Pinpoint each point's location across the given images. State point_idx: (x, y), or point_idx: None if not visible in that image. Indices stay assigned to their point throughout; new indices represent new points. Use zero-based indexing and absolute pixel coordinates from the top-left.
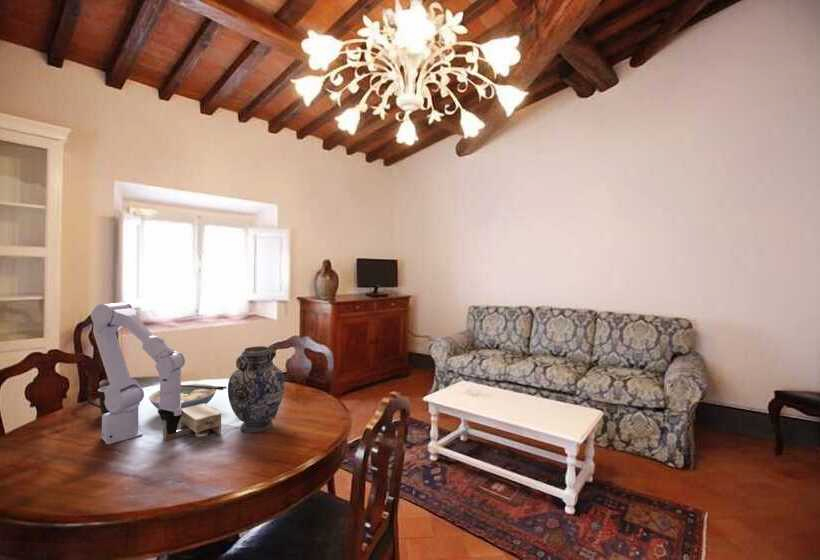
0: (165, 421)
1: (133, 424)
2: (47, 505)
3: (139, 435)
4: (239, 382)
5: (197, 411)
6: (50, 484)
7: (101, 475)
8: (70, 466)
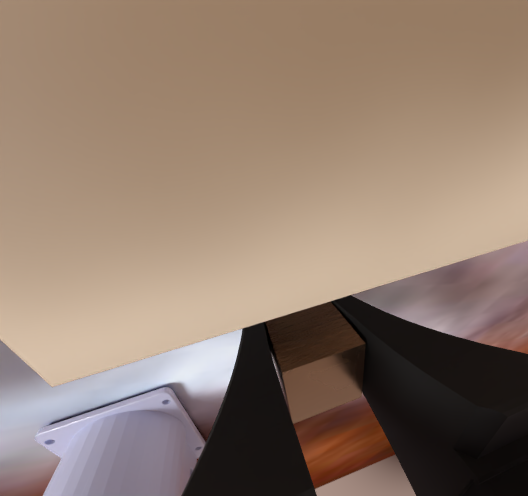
0: (342, 401)
1: (156, 492)
2: None
3: (174, 395)
4: None
5: (436, 87)
6: (363, 446)
7: None
8: (305, 454)
